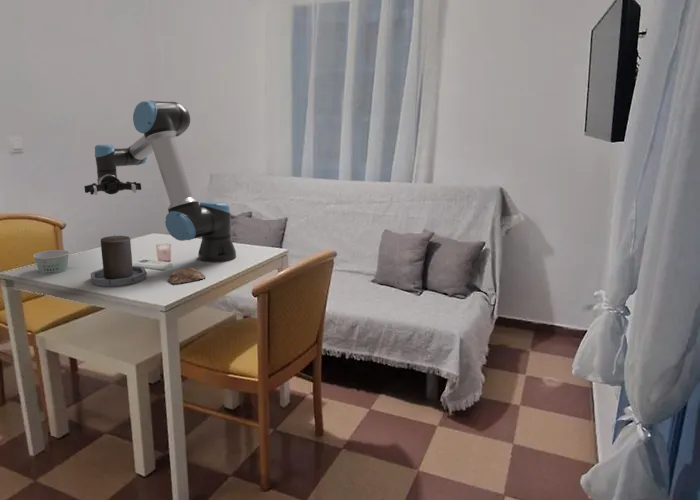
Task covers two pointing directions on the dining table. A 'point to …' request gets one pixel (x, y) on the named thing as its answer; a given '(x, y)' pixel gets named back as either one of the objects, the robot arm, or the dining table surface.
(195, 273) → the shell
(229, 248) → the robot arm
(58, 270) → the food container
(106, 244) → the pillar candle
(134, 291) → the dining table surface
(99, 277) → the tray
